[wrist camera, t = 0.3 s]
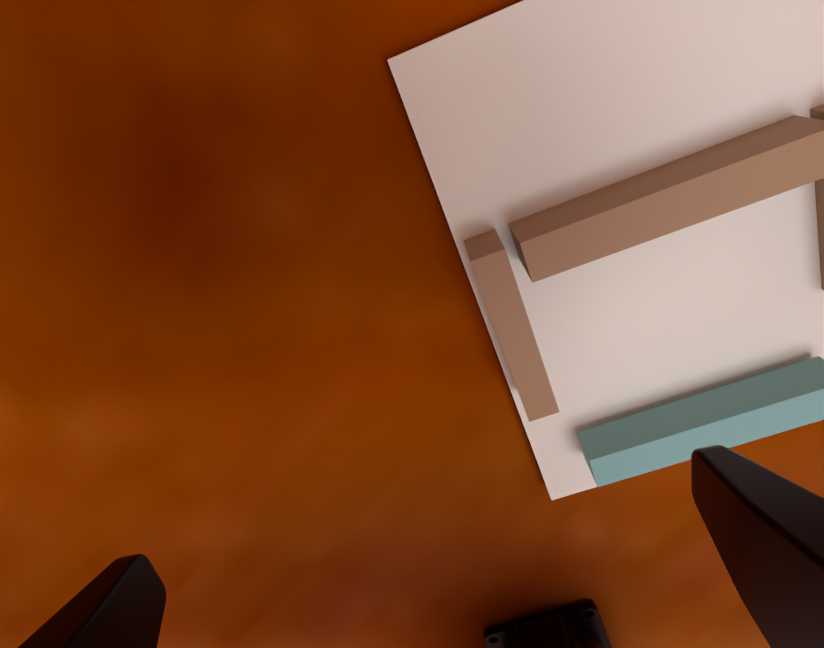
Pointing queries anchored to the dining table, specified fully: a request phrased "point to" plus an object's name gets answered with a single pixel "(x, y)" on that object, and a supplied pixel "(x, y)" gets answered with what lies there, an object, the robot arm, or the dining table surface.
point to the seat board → (629, 198)
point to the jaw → (706, 422)
